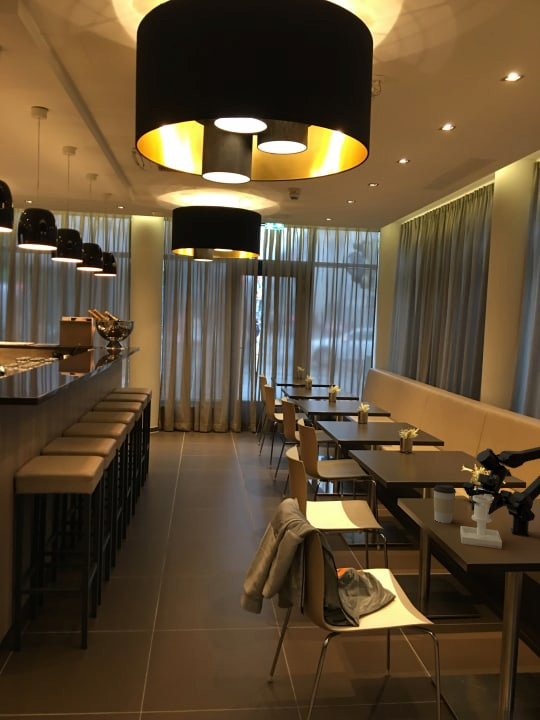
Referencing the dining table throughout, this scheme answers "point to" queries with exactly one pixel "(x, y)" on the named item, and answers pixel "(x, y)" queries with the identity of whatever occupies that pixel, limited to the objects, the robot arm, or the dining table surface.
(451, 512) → the coffee cup
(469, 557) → the dining table surface
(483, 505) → the white flanged column
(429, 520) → the dining table surface
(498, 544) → the white square tray
